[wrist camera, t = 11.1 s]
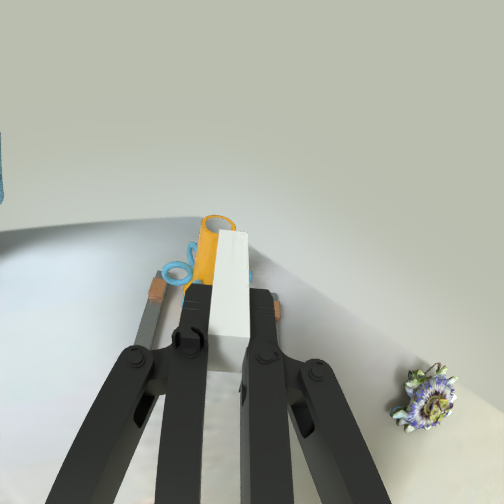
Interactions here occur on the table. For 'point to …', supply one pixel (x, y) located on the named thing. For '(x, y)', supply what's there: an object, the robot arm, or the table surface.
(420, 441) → the table surface
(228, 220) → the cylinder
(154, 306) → the guide track
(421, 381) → the passion flower
